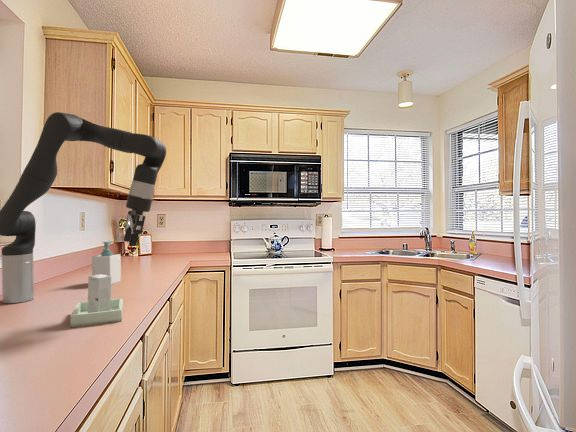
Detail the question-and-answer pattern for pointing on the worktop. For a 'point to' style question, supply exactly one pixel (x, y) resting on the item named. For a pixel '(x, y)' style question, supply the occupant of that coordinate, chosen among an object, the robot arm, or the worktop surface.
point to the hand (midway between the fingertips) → (129, 243)
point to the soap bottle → (107, 264)
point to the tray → (96, 314)
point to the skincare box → (99, 293)
